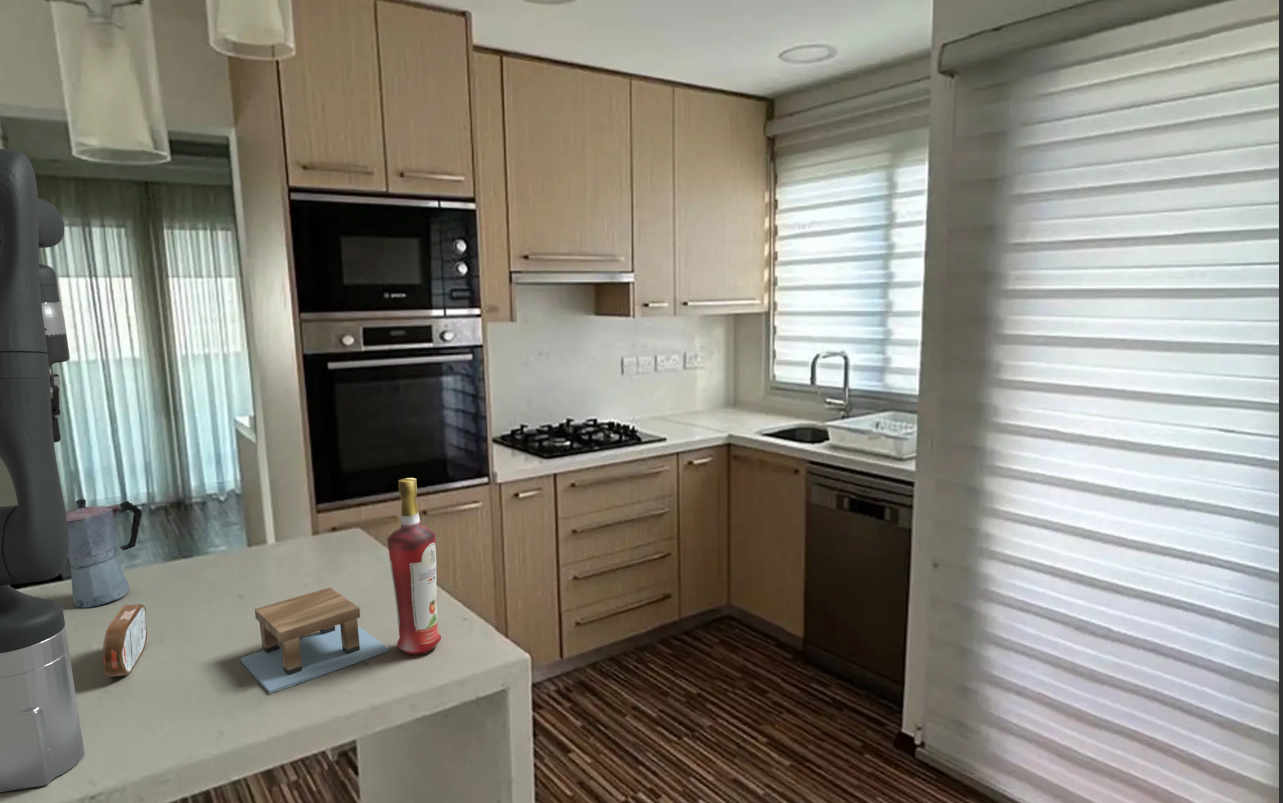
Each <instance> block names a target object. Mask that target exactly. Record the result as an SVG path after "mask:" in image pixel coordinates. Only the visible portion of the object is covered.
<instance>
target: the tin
mask: <svg viewBox="0 0 1283 803" xmlns="http://www.w3.org/2000/svg"><path fill="white" fill-rule="evenodd" d="M104 635H105V636H104V638H103V639H104V640H103V644H102V645H103V646H102V665H103V672H104V674H105V675H104V676H106V678H107V679H111V678H116V677H123V676H127V675H130V673H132V671H133V670H134V668H135V666H136V664H137V662H138V661H139V659H140V658H141V656H142V655H143V652H144V650H145V647H146V645H147V644H146V643H147V638H148V628H147V609H146V606H145V605H144V604H142V603H140V604H139V603H138V604H137V603H136V604H123V606H122V607H121V608H120V610H118V612H117V613H116V615H115V616H114V618H113V619H112V620H111V621H110V623H109V624H108V626H107V629H106V631H105V634H104Z"/></svg>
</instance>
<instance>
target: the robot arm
mask: <svg viewBox="0 0 1283 803" xmlns="http://www.w3.org/2000/svg"><path fill="white" fill-rule="evenodd" d="M64 222H65V221H64V219H63V216H62V214H61V213H60V211H59V210H58V209H57V208H56V207H55V206H54V205H53V204H52V203H50V202H49V201H47V200H45V199H41V198H39V194H38V185H37V179H36V173H35V170H34V167H33V165H32V163H31V160H30V159H29V158H28V157H27V156H26V155H25V154H24V153H23V152H21V151H19V150H13V149H7V148H0V460H1V461H2V463H3V464H4V466H5V467H6V470H7V471H8V473H9V476H10V479H11V481H12V484H13V488H14V491H15V495H16V496H15V497H16V501H17V505H8V506H7V505H6V506H0V793H5V792H10V791H17V790H23V789H30V788H35V787H44V786H47V785H49V784H50V783H51V782H52V781H53V779H56V778H58V777H59V776H61V775H63V774H64V773H66V772H68V771H69V770H70V769H72V768H74V767H75V766H76V765H77V764H78V763H79V762H80V761H81V760H82V759H83V757H84V754H85V747H84V740H83V734H82V729H81V728H82V727H81V722H80V720H81V719H80V714H79V709H78V708H79V707H78V701H77V695H76V688H75V682H74V675H73V674H74V673H73V668H72V662H71V655H70V654H71V653H70V648H69V640H68V633H67V628H66V621H65V615H64V614H65V613H64V610H63V607H62V606H61V605H60V603H58V602H56V601H54V600H52V599H47V598H42V597H37V596H33V595H29V594H27V593H23V592H21V591H19V590H17V589H15V588H14V587H12V586H11V585H18V584H27V583H34V582H35V583H36V582H40V581H41V582H42V581H47V580H51V579H53V578H57V577H58V576H60V574H62V572H63V570H65V567H66V564H67V563H68V559H69V558H68V553H69V532H68V524H67V517H66V512H67V511H66V506H65V502H64V501H65V500H64V497H63V491H62V485H61V480H60V474H59V467H58V462H57V458H56V450H55V443H58V442H59V443H60V442H61V439H62V438H61V431H60V425H59V418H60V416H61V415H60V414H61V409H60V404H61V402H62V399H61V394H60V393H61V392H60V386H61V380H60V379H61V378H60V377H61V376H60V374H58V373H54V370H53V365H54V364H59V363H65V362H68V361H69V360H70V358H71V357H70V351H69V349H70V348H69V343H68V336H67V328H66V322H65V316H64V312H63V309H62V307H61V306H62V305H61V303H60V295H59V288H58V280H57V276H56V275H57V274H56V272H55V269H53V267H52V266H49V265H47V264H42V263H40V248H41V249H43V248H47V249H48V248H52V247H55V246H57V245H59V244H60V243H61V241H62V240H63V238H64V235H65V223H64Z"/></svg>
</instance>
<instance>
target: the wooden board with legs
mask: <svg viewBox="0 0 1283 803" xmlns="http://www.w3.org/2000/svg"><path fill="white" fill-rule="evenodd" d="M254 617H255V619H256V621H257V622H259V629H260V630H259V631H260V637H261V638H260V639H261V648H262V651H265V652H266V653H269V652H272V651H275V650H278V649H280V647H279V645H281V649H282V658H283V668H284V671H285V673H286V674H287V675H291V674H294V673H297V672H300V671H302V664H301V654H300V645H299V639H300V638H302V637H305V636H308V635H312V634H315V633H318V632H321V633H322V634H326V633H329V632H332V631H335V627H336V626H340V628H341V639H342V650H343V651H344V652H345V653H346V654H350V653H353V652H356V651H359V650H360V645H359V633H358V626H359V625H358V624H359V622H358V619H360V618H361V609H360V607H359V606H358V605H356V604H355V603H353V602H352V601H351V600H349V599H347V598H346V597H344V596H343V595H342V594H341V593H339V592H337V591H336V590H335V589H334V588H332V587H326V588H323V589H320V590H316V591H313V592H309V593H306V594H301V595H299V596H296V597H295V596H294V597H292V598H289V599H286V600H281V601H278V602H275V603H272V604H268V605H264V606H261V607H258V608H254Z"/></svg>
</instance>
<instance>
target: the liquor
mask: <svg viewBox="0 0 1283 803" xmlns="http://www.w3.org/2000/svg"><path fill="white" fill-rule="evenodd" d="M417 486H418V485H417V478H414V477H406V478H401V479H399V480H398V492H399V496H400V501H401V504H400V511H401V512H400V528H398V529H396V530H394V531H393V532H392V533H391V534H389V535H388V537H387V539H386V540H387V549H388V556H389V564H390V572H391V578H392V586H393V592H394V600H395V609H396V616H397V617H396V618H397V624H398V635H399V638H398V640H397V642H396V645H397V647H398V648H399V649H400V650H402V651H403V652H405V653H407V654H408V655H410V656H411V655H415V656H417V655H423V654H426V653H429V652H430V651H432V650H433V649H434V648H435V647H436V646H437V645H438V644H439V643H440V641H442V635H441V634H440V632H439V628H438V604H437V603H438V602H437V600H438V599H437V597H438V596H437V550H436V548H437V546H436V544H437V542H436V537H437V536H436V532H435V531H434V530H433V529H431V528H429V527H428V526H424V525H421V520H420V514H419V509H418V503H417V492H418V488H417Z"/></svg>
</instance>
